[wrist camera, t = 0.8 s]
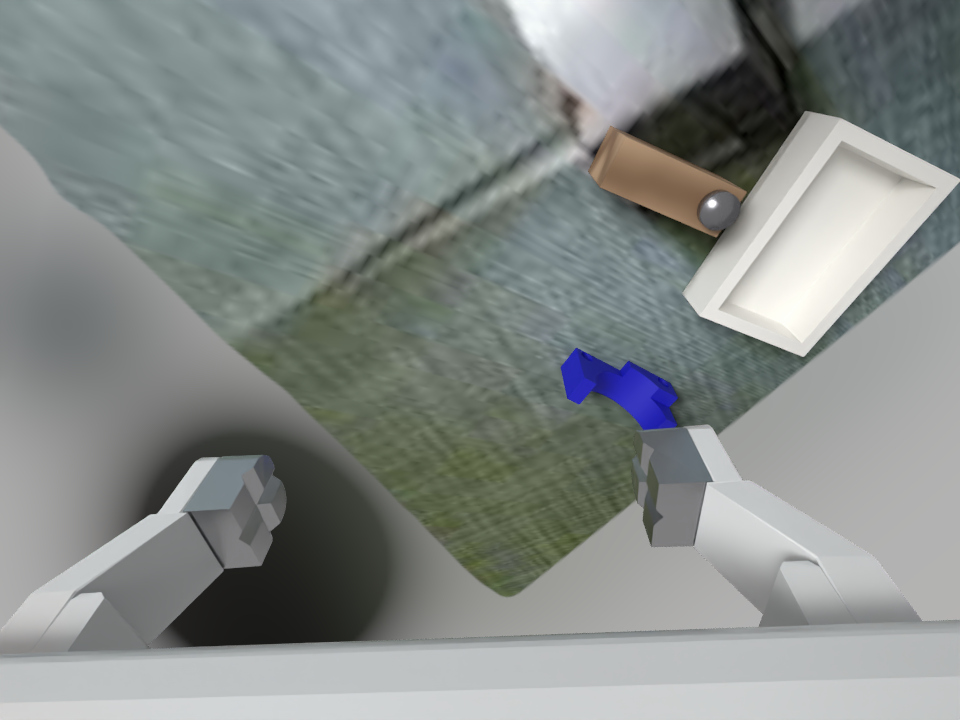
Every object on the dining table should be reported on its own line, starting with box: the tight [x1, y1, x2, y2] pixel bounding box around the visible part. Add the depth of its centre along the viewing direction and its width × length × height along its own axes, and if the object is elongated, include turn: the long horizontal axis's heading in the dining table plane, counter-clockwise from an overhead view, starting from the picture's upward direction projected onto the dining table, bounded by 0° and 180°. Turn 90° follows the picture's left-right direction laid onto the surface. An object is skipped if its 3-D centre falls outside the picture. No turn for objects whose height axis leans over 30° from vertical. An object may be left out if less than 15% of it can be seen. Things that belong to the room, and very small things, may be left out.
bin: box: [682, 111, 960, 357], centre depth 45 cm, size 18×12×5 cm, turn 159°
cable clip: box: [561, 348, 678, 430], centre depth 54 cm, size 12×4×6 cm, turn 61°
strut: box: [588, 126, 747, 238], centre depth 42 cm, size 4×11×7 cm, turn 69°
